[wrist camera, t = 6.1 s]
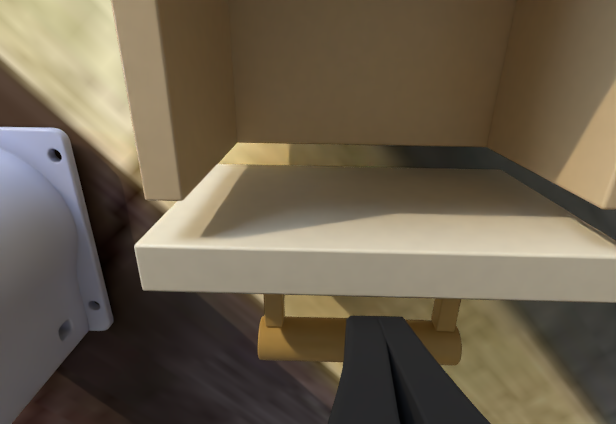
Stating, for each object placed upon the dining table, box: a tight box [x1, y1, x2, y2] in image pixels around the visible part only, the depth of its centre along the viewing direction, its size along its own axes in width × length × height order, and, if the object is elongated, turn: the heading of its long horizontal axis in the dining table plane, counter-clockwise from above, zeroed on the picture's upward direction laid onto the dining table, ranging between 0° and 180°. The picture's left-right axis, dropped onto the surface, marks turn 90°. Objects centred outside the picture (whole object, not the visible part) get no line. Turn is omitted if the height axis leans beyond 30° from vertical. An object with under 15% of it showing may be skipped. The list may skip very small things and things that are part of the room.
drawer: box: [111, 0, 616, 365], centre depth 10 cm, size 17×11×6 cm, turn 179°
